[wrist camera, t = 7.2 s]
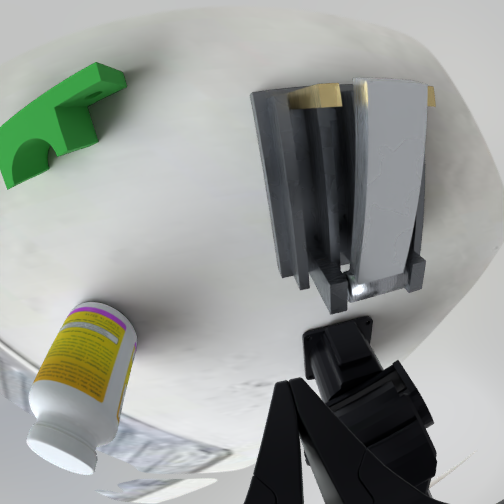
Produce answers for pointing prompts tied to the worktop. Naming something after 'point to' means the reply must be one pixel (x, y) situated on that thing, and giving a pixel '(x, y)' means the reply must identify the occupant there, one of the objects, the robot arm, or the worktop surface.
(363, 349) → the robot arm
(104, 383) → the supplement bottle
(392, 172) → the silver metal bar
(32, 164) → the pipe clamp
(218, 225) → the worktop surface
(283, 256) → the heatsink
